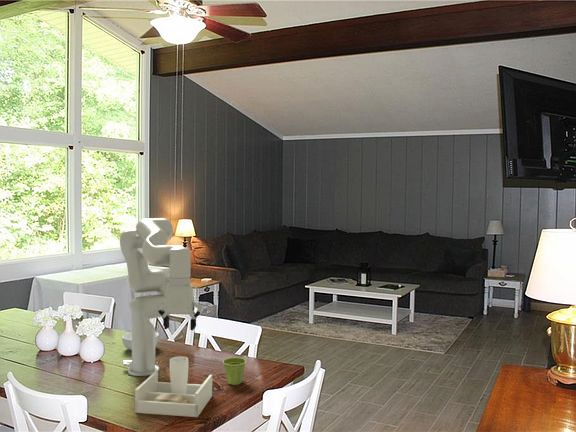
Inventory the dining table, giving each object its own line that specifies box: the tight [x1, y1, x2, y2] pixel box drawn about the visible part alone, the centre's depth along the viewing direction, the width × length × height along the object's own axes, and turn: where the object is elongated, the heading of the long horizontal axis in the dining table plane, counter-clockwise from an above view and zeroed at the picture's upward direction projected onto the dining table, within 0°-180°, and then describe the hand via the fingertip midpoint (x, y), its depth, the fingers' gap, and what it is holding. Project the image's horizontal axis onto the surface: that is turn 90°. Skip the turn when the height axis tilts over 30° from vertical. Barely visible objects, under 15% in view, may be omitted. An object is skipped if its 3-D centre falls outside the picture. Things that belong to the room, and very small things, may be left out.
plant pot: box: [222, 357, 247, 386], centre depth 218 cm, size 9×9×9 cm
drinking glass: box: [169, 355, 189, 394], centre depth 199 cm, size 7×7×15 cm
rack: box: [134, 371, 213, 418], centre depth 196 cm, size 22×19×8 cm
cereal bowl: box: [121, 331, 160, 351], centre depth 259 cm, size 17×17×7 cm
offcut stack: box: [155, 393, 188, 404], centre depth 191 cm, size 12×5×5 cm, turn 83°
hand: (179, 328), depth 198 cm, fingers open, 9 cm apart
